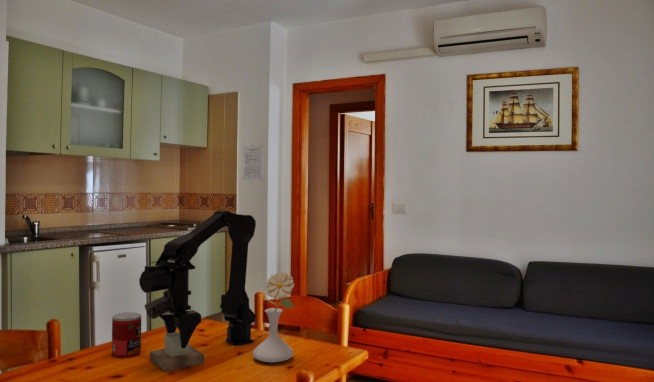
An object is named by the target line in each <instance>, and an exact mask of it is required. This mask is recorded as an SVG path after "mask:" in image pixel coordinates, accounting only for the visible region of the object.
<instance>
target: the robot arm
mask: <svg viewBox="0 0 654 382" xmlns="http://www.w3.org/2000/svg"><path fill="white" fill-rule="evenodd" d="M256 225H257V221H256V219H255V217H254V216H252V215H250V214H240V213H239V214H238V213H234V212H231V211H228V210H221V209H218V210H215V211H214V212H213V214H212V215H211V216H209V217H208V218H207V219H206V220H204V221H202V222H201V223H200V224H199V225H197V226H196V227H195V228H194V229H192V230H191V231H190V232H188V233H186V234H184V235H181V236H177V237H175V238H173V239H171V240H170V241H167V242H166V243H165V244H164V246H163V251H162V253H160V256H159V257H158V259H157V260H156V262H155V263H154V264H155V265H146V266H144V270H143V271H142V272H141V274H140V277H139V279H138V280H139V288H140V289H141V291H142V292H143V293H145V294H147V293H148V294H149V293H153V292H158V291H159V292H160V291H163V292H162V295H163V296H161V297H158V298H155V299H154V300H152V301H150V302H148V303H146V304H144V309H145V311H146V314H147V317H149V318H151V319H152V320H155V319H157V318H160V319H161V320H162V321H163V323H164V327H165V331H166V334H168V333H174V332H177V329H178V332H179V334H180V342H181V348H186V346H187V344H188V342H189V343H190V340H191V338H192V335H193V334H194V332H195V330H196V328H197V326H199V324H201V323H202V314H201V313H200V312H199V311H196V310H194V309H192V306H191V305H190V304H189V296H190V295H192V290H189V285H190V284H189V278H190V277H189V276H190V275H189V274H190V272H189V271H192V270H195V269H196V266H195V265H194V264H193V263H192V262H191V260H192V259H193V258H194V257H195V256H196V254H197V253H198V250H199V247H200V246H202V245H203V244H204V243H205V242H206V241H208V240H209V239H210V238H212V237H213V236H214V235H215V234H217V232H219V231H220V230H221V229H222V228H223V227H226V228H227V230H228V231H227V232H228V235H229V238H230V240H231V243H232V245H231V255H230V256H231V257H230V270H229V281H228V282H229V283H228V290H227V291H226V293H225V294H223V293H222V294H221V296H220V305H219V308H220V309H221V314H222V315H223V317H224V321H225V322H228V326H227V327H226V338H225V341H226V342H228V343H230V344H232V345H234V346H238V345H244V344H248V343H253V342H254V339H252V338H251V336H252V334H251V333H252V332H251V329H252V325H253V324H254V323H255V322H256V318H257V315H256V314H255V313H254V311H253V310H252V309H251V308H250V298H249V296H248V293H247V291H246V280H247V267H248V265H247V264H248V254H249V251H248V250H249V243H250V242H251V241H252V239H253V238H254V236H255V232H256Z"/></svg>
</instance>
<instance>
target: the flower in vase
mask: <svg viewBox="0 0 654 382" xmlns="http://www.w3.org/2000/svg"><path fill="white" fill-rule="evenodd" d="M293 279H294V278H293V276H292V275H290V274H288V273H287V272H284V271H281V272H275V274H272V275H270V277H269V278H268V279H267V282H266V283H265V291H266V295H267V296H268V297H270V298H271V299H272V298H273V299H274V300H276V301H278V300H280V302H279V303H278V305H277V304H276V303H275V302H274V301H272V300H270V299H268V298H267V297H265V300H266V301H268V302H269V303H271V304H273V305H274V306H276V308H275V307H271V308H267V309H265V310H264V313H266V315H267V319H268V324H269V329H268V330H269V331H268V336H267V337H266V339H265V340H263V341H262V342H261V343H259V345H257V346H256V347H255V348H254V349H253V351H252V355H253V357H254V359H256V360H258V361H261V362H264V363H265V362H266V363H281V362H284V361H287V360H289V359H291V358H293V355H294V350H293V349H292V347H291V346H290V345H289V344H287V343H286V342H285V341H284V340H282V338H280V336H279V333H278V328H279V327H278V325H279V319H280V315H281V314H282V312H284V310H283V309H282V308H279V307H280V305H282V307H283V308H284V309H290V308H294V307H295V306H294V304H293V302H292V301H291V300H290V299H288V298H286V297H289V296H290V294H291V292H293V289H294V287H295V283H294V280H293ZM284 298H285V299H284Z"/></svg>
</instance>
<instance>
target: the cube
mask: <svg viewBox="0 0 654 382" xmlns="http://www.w3.org/2000/svg"><path fill="white" fill-rule="evenodd" d="M189 345H190V341H189V342H188V344H187V346H186V348H181V342H180V334H179V331H175V332H174V333H168V334H167V333H164V349H165V350H164V352H165V353H166V354H168V355H169V356H170V357H174V356H179V355H184V354H189Z"/></svg>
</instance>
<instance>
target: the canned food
mask: <svg viewBox="0 0 654 382" xmlns="http://www.w3.org/2000/svg"><path fill="white" fill-rule="evenodd" d="M111 318H112V319H111V321H112V322H111V353H112V356H113V357H115V358H119V357H121V359H124V358H125V357H127V358H132V357H135V356H138V355H140V353H141V351H142V314H141V313H138V312H131V311H130V312H121V313H120V312H119V313H116V314H114V315H113V316H112V317H111ZM125 359H126V358H125Z"/></svg>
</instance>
